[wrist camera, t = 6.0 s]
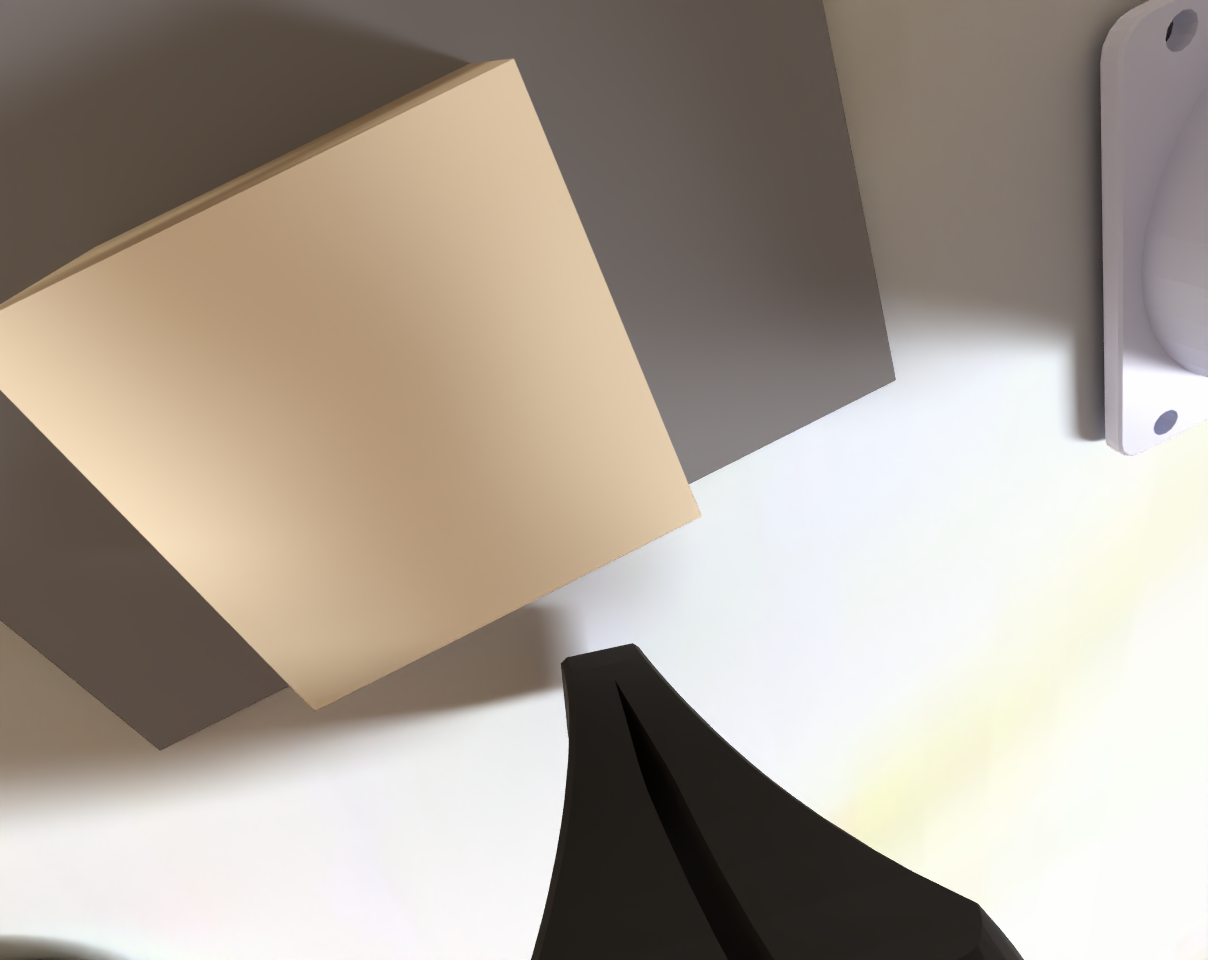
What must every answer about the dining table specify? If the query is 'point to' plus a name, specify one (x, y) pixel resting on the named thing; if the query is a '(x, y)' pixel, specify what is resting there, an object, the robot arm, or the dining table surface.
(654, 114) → the mat
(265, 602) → the beech block
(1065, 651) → the dining table surface
